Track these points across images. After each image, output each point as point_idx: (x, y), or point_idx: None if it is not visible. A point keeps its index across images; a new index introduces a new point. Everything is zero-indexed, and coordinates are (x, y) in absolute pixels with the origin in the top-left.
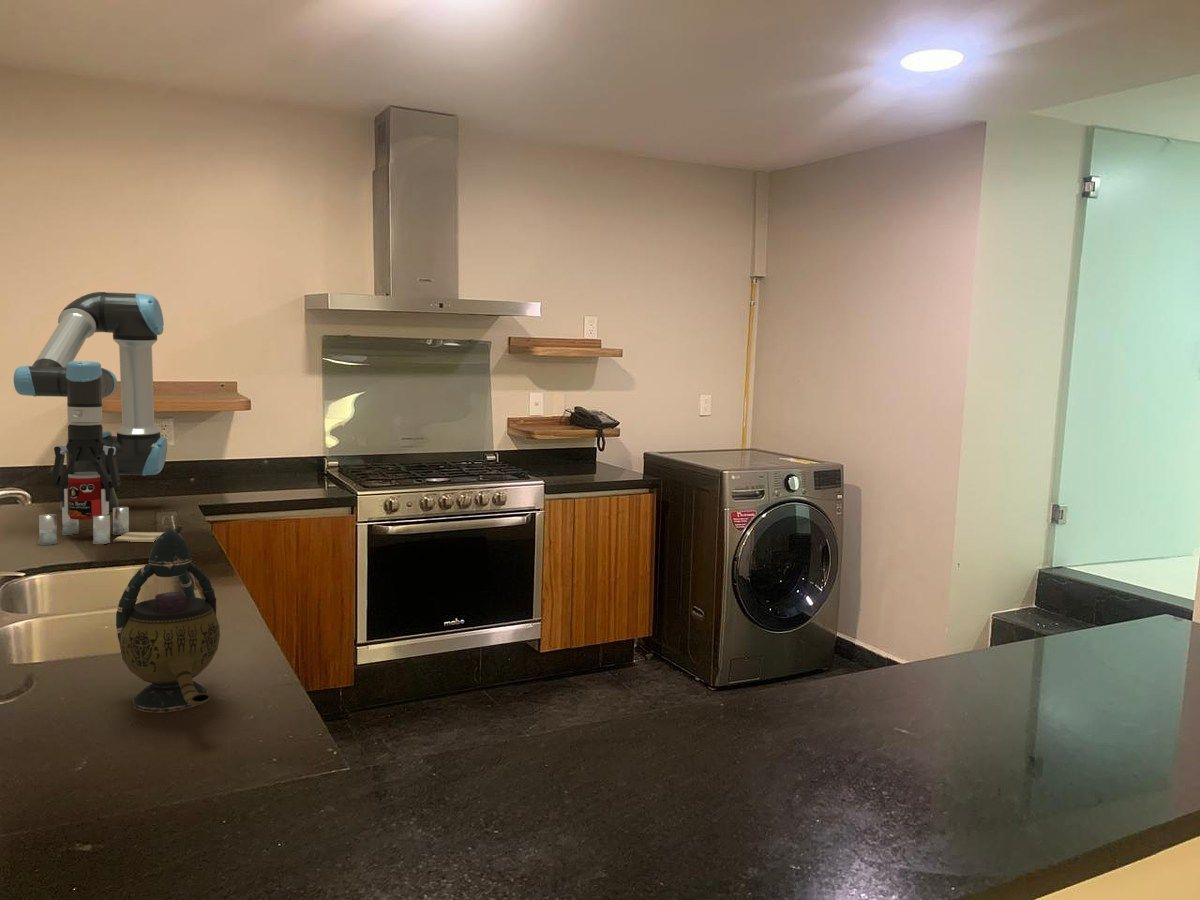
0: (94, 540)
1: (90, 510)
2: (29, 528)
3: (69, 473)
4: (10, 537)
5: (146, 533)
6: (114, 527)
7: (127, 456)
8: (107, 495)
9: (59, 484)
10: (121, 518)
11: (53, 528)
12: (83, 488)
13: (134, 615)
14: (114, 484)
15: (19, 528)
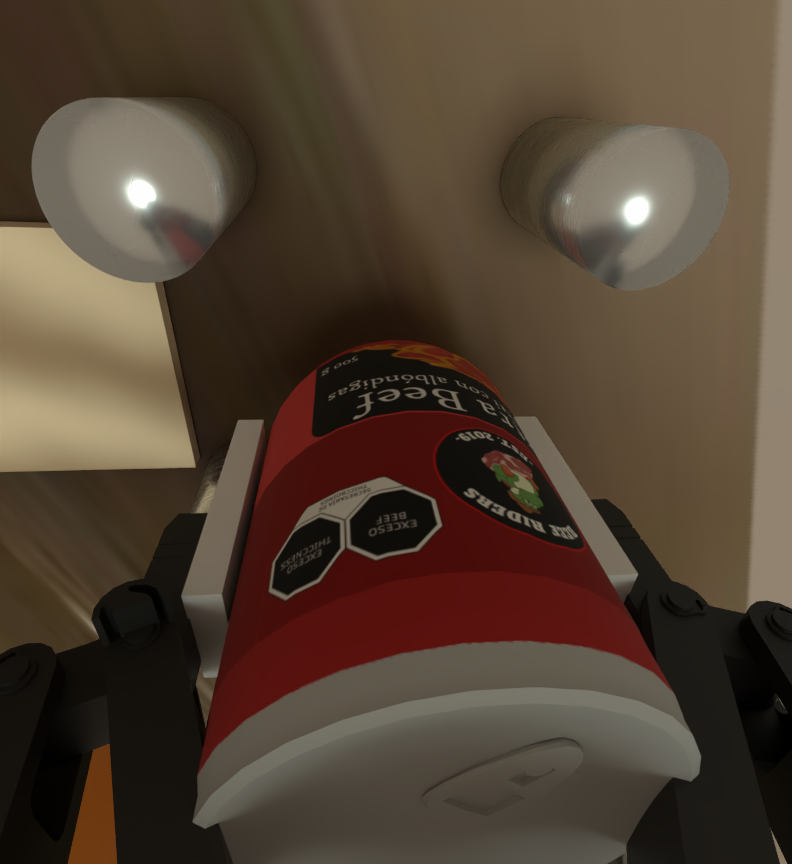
0: (223, 116)
1: (322, 385)
2: (679, 568)
3: (690, 794)
4: (754, 385)
5: (62, 436)
6: None
7: None
8: (184, 558)
9: (714, 630)
10: (205, 511)
11: (553, 158)
12: (393, 513)
13: None
14: (12, 669)
15: (714, 566)
